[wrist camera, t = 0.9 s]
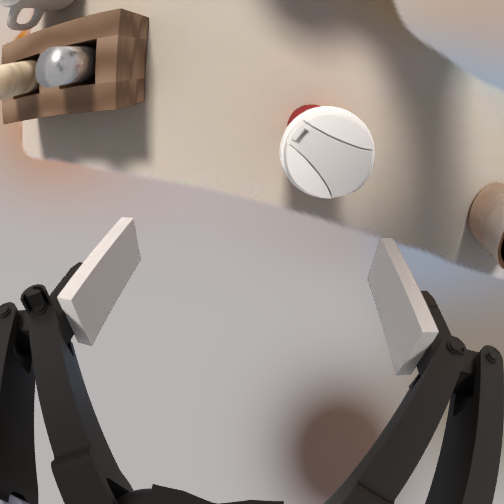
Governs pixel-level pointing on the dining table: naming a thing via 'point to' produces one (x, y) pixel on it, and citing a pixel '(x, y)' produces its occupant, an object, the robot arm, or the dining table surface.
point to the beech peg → (18, 78)
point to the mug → (40, 3)
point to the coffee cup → (326, 151)
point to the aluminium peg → (65, 65)
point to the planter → (489, 220)
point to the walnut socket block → (106, 73)
